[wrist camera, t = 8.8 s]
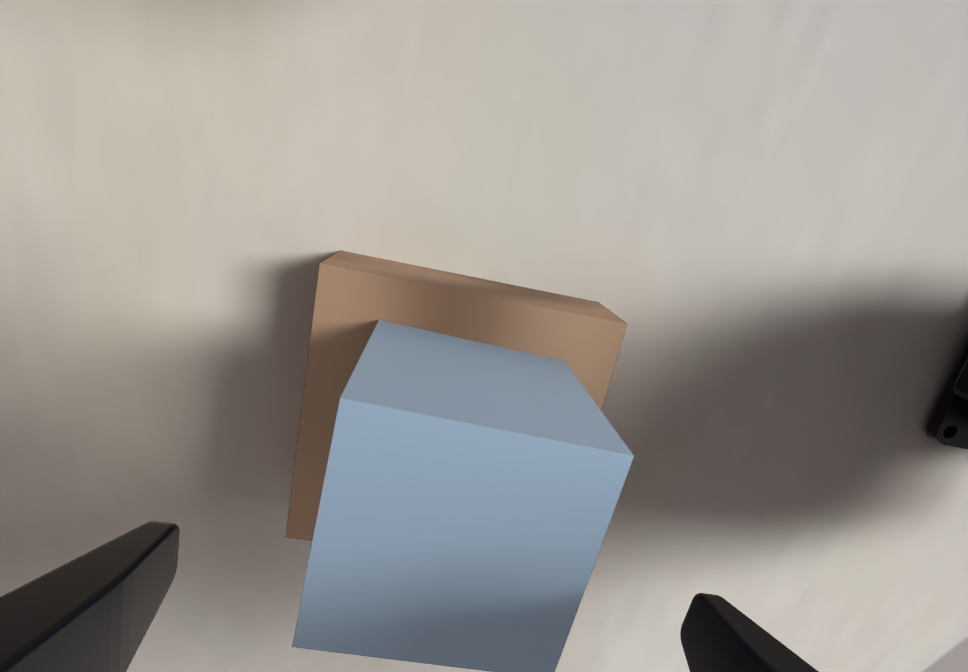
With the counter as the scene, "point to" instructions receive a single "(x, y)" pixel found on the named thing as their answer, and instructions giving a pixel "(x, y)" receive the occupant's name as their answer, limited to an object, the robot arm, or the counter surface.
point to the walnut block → (437, 308)
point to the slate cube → (459, 506)
